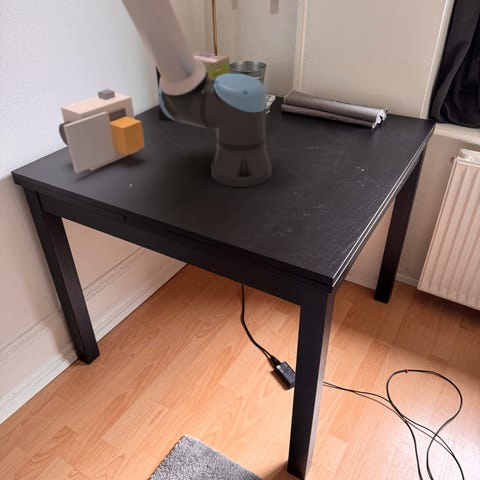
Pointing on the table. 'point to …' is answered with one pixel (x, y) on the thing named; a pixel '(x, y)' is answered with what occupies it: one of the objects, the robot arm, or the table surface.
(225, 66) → the tea box
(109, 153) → the side door
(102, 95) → the camera housing
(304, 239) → the table surface
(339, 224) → the table surface
